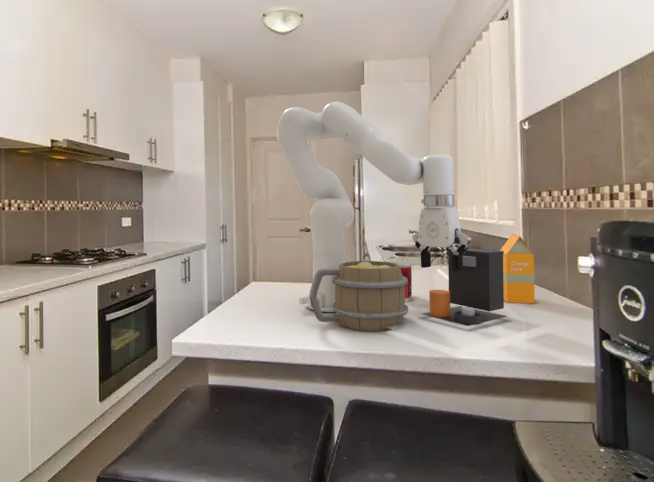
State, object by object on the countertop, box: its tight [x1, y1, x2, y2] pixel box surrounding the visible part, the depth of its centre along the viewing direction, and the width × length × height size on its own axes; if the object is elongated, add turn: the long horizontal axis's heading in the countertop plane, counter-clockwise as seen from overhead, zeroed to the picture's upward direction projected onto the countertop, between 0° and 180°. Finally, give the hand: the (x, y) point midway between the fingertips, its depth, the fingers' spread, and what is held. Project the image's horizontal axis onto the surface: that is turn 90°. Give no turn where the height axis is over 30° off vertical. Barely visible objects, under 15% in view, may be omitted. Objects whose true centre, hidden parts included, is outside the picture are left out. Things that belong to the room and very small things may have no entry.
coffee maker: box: [447, 247, 505, 312], centre depth 119 cm, size 8×12×15 cm, turn 32°
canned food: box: [394, 262, 413, 299], centre depth 142 cm, size 8×8×11 cm
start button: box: [461, 306, 476, 316], centre depth 110 cm, size 3×3×2 cm
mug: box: [308, 260, 409, 332], centre depth 113 cm, size 19×25×15 cm
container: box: [428, 289, 451, 318], centre depth 117 cm, size 5×5×6 cm
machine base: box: [422, 305, 508, 327], centre depth 116 cm, size 16×14×3 cm
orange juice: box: [499, 233, 536, 304], centre depth 139 cm, size 8×9×20 cm
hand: (441, 269), depth 117 cm, fingers open, 9 cm apart
